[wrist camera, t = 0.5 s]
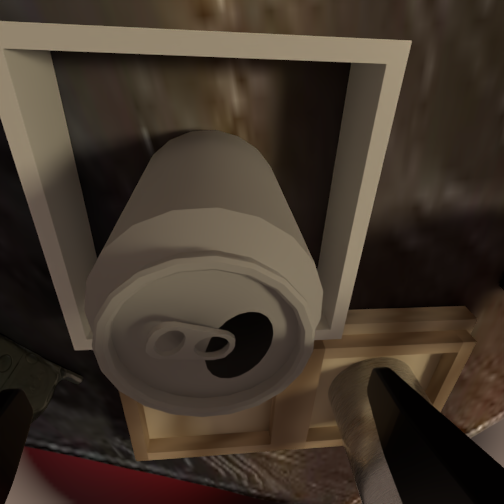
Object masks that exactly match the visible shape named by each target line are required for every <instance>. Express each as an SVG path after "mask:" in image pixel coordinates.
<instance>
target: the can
mask: <svg viewBox="0 0 504 504" xmlns="http://www.w3.org/2000/svg"><path fill="white" fill-rule="evenodd" d="M322 300H323V288H322V285H321V282H320V279H319V276H318V272H317V269H316V266H315V263H314V261H313V258H312V256H311V254H310V252H309V250H308V247H307V245H306V243H305V241H304V239H303V236H302V234H301V232H300V230H299V228H298V225H297V223H296V221H295V219H294V217H293V215H292V212H291V210H290V208H289V206H288V204H287V201H286V199H285V197H284V195H283V193H282V190H281V188H280V186H279V184H278V182H277V179H276V177H275V175H274V173H273V171H272V168H271V166H270V165H269V164H268V162H267V161H266V160H265V159H264V157H263V156H262V155H261V153H260V152H259V151H258V149H256V148H255V147H253V146H252V145H250V144H249V143H247V142H246V141H244V140H243V139H241V138H240V137H239V136H235V135H232V134H228V133H224V132H221V131H217V130H206V131H191V132H188V133H186V134H183V135H181V136H178V137H176V138H173V139H171V140H169V141H168V142H167V143H166V144H165V145H164V146H162V147H161V148H160V149H159V150H158V151H157V152H156V153H154V154H153V156H152V158H151V159H150V161H149V163H148V165H147V167H146V169H145V171H144V172H143V174H142V176H141V178H140V180H139V182H138V184H137V186H136V187H135V189H134V191H133V193H132V195H131V197H130V199H129V201H128V203H127V204H126V206H125V208H124V210H123V212H122V214H121V216H120V218H119V219H118V221H117V223H116V225H115V227H114V229H113V231H112V233H111V234H110V236H109V238H108V240H107V242H106V244H105V246H104V248H103V250H102V251H101V253H100V255H99V257H98V259H97V261H96V263H95V265H94V266H93V268H92V270H91V272H90V274H89V276H88V278H87V280H86V291H85V306H84V312H85V314H86V317H87V320H88V323H89V325H90V328H91V331H92V334H93V338H92V348H93V351H94V354H95V356H96V359H97V362H98V364H99V367H100V370H101V371H102V373H103V374H104V375H105V376H106V377H107V378H108V379H109V380H110V381H111V382H112V383H113V385H114V386H115V387H116V388H117V389H118V390H119V391H120V392H122V393H123V394H125V395H127V396H129V397H130V398H132V399H134V400H135V401H137V402H139V403H140V404H142V405H144V406H146V407H149V408H153V409H156V410H159V411H163V412H166V413H169V414H172V415H184V416H195V417H207V416H217V415H226V414H232V413H236V412H239V411H242V410H245V409H249V408H252V407H255V406H258V405H260V404H262V403H263V402H265V401H267V400H269V399H271V398H272V397H274V396H276V395H278V394H279V393H281V392H282V391H284V390H285V389H286V388H287V387H288V386H289V385H290V384H291V383H292V382H293V381H294V380H295V379H296V378H297V377H298V376H299V375H300V374H301V373H302V371H303V369H304V368H305V366H306V364H307V362H308V360H309V358H310V356H311V354H312V352H313V347H314V336H315V329H316V327H317V325H318V323H319V321H320V319H321V310H322Z"/></svg>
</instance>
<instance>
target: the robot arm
mask: <svg viewBox="0 0 504 504" xmlns="http://www.w3.org/2000/svg"><path fill="white" fill-rule="evenodd" d="M499 286H500V287H501V288H502V289H503V290H504V276H503V278H502V280H501V282H500V284H499ZM367 396H368V399H369V403H370V407H371V410H372V414H373V418H374V421H375V425H376V429H377V432H378V436H379V440H380V443H381V447H382V450H383V454H384V456H385V459H386V462H387V465H388V467H389V470H390V472H391V475H392V478H393V480H394V483H395V485H396V488H397V491H398V493H399V496H400V498H401V501H402V504H504V468H503V467H502V466H501V465H500V464H499V463H497V462H496V461H495V460H494V459H493V458H492V457H491V456H489V455H488V454H487V453H486V452H485V451H484V450H483V449H482V448H480V447H479V446H478V445H477V444H476V443H475V442H474V441H472V440H471V439H470V438H469V437H468V436H467V435H466V434H465V433H463V432H462V431H461V430H460V429H459V428H458V427H457V426H455V425H454V424H453V423H452V422H451V421H450V420H449V419H447V418H446V417H445V416H444V415H443V414H442V413H441V412H439V411H438V410H437V409H436V408H435V407H434V406H433V405H431V404H430V403H429V402H428V401H427V400H426V399H425V398H423V397H422V396H421V395H420V394H419V393H418V392H417V391H416V390H414V389H413V388H412V387H411V386H410V385H409V384H408V383H406V382H405V381H404V380H403V379H402V378H401V377H400V376H398V375H397V374H396V373H395V372H394V371H393V370H392V369H390V368H388V367H376V368H373V369H372V372H371V375H370V379H369V382H368V385H367ZM32 418H33V408H32V405H31V403H30V401H29V399H28V397H27V395H26V393H25V391H24V390H23V389H21V388H14V389H5V390H2V391H1V392H0V504H5V501H6V499H7V496H8V494H9V491H10V489H11V486H12V484H13V481H14V478H15V474H16V472H17V468H18V465H19V462H20V458H21V455H22V452H23V448H24V445H25V442H26V438H27V435H28V431H29V428H30V425H31V421H32Z"/></svg>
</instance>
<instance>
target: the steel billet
mask: <svg viewBox="0 0 504 504" xmlns="http://www.w3.org/2000/svg"><path fill="white" fill-rule="evenodd" d="M376 367H388V368H390V369H392V370H393V371H394V372H395V373H396V374H397V375H398V376H400V377H401V378H402V379H403V380H404V381H405V382H406V383H408V384H409V385H410V386H411V387H412V388H413V389H414V390H416V391H417V392H418V393H419V394H420V395H421V396H422V397H423V398H425V399H426V400H427V401H428V402H429V403H430V404H431V405H432V403H431V401H430V400H429V398H428V396H427V395H426V393H425V391H424V390H423V388H422V386H421V385H420V383H419V381H418V380H417V378H416V376H415V375H414V373H413V371H412V370H411V368H410V367H409V366H408V365H407V364H406V363H405V362H403V361H401V360H398V359H395V358H388V357H378V358H371V359H367V360H363V361H360V362H357V363H355V364H353V365H351V366H349V367H348V368H346V369H345V370H343V371H342V372H341V373H339V374H338V375H337V376H336V377H335V379H334V380H333V381H332V383H331V385H330V387H329V390H328V398H329V401H330V404H331V408H332V411H333V414H334V417H335V420H336V423H337V426H338V429H339V432H340V435H341V439H342V442H343V445H344V448H345V451H346V454H347V457H348V460H349V463H350V466H351V470H352V473H353V476H354V479H355V482H356V485H357V488H358V491H359V494H360V497H361V500H362V504H402V501H401V498H400V496H399V493H398V491H397V488H396V485H395V483H394V480H393V478H392V475H391V472H390V470H389V467H388V465H387V462H386V459H385V456H384V454H383V450H382V447H381V443H380V440H379V436H378V432H377V429H376V425H375V421H374V418H373V414H372V410H371V407H370V403H369V399H368V396H367V385H368V382H369V379H370V375H371V372H372V369H373V368H376Z"/></svg>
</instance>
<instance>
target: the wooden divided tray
mask: <svg viewBox="0 0 504 504" xmlns="http://www.w3.org/2000/svg"><path fill="white" fill-rule="evenodd" d="M476 321H477V318H476V317H475V316H474V315H473V314H472V313H471V312H470V311H469V310H468V309H467V308H466V307H465V306H445V307H416V308H387V309H358V310H348V313H347V317H346V321H345V326H344V330H343V334H342V338H341V339H329V340H314V347H313V352H312V354H311V356H310V358H309V360H308V362H307V364H306V366H305V368H304V369H303V371H302V373H301V374H300V375H299V376H298V377H297V378H296V379H295V380H294V381H293V382H292V383H291V384H290V385H289V386H288V387H287V388H286V389H285V390H284V391H282V392H281V393H279V394H278V395H276V396H274V397H272V398H271V399H269V400H267V401H265V402H263V403H262V404H260V405H258V406H255V407H252V408H249V409H245V410H242V411H239V412H236V413H232V414H226V415H217V416H207V417H195V416H184V415H172V414H169V413H166V412H163V411H159V410H156V409H153V408H149V407H146V406H144V405H142V404H140V403H139V402H137V401H135V400H134V399H132V398H130V397H129V396H127V395H125V394H123V393H122V392H120V391H119V393H120V397H121V401H122V406H123V410H124V414H125V418H126V422H127V426H128V430H129V434H130V438H131V442H132V446H133V450H134V454H135V458H136V461H145V460H159V459H172V458H185V457H199V456H212V455H225V454H238V453H252V452H265V451H278V450H292V449H305V448H318V447H332V446H344V445H343V442H342V439H341V435H340V432H339V429H338V426H337V423H336V420H335V417H334V414H333V411H332V408H331V404H330V401H329V398H328V390H329V387H330V385H331V383H332V381H333V380H334V379H335V377H336V376H337V375H338V374H339V373H341V372H342V371H343V370H345V369H346V368H348V367H349V366H351V365H353V364H355V363H357V362H360V361H363V360H367V359H371V358H378V357H388V358H395V359H398V360H401V361H403V362H405V363H406V364H407V365H408V366H409V367H410V368H411V370H412V371H413V373H414V375H415V376H416V378H417V380H418V381H419V383H420V385H421V386H422V388H423V390H424V391H425V393H426V395H427V396H428V398H429V400H430V401H431V403H432V405H433V406H434V407H435V408H436V409H437V410H438V411H439V412H441V410H442V408H443V406H444V404H445V402H446V400H447V398H448V396H449V394H450V392H451V390H452V389H453V387H454V385H455V383H456V381H457V379H458V377H459V375H460V373H461V371H462V369H463V367H464V365H465V363H466V361H467V360H468V358H469V356H470V354H471V352H472V350H473V348H474V346H475V344H476V340H475V339H474V338H473V337H472V336H471V335H470V334H471V332H472V329H473V327H474V325H475V323H476Z"/></svg>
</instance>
